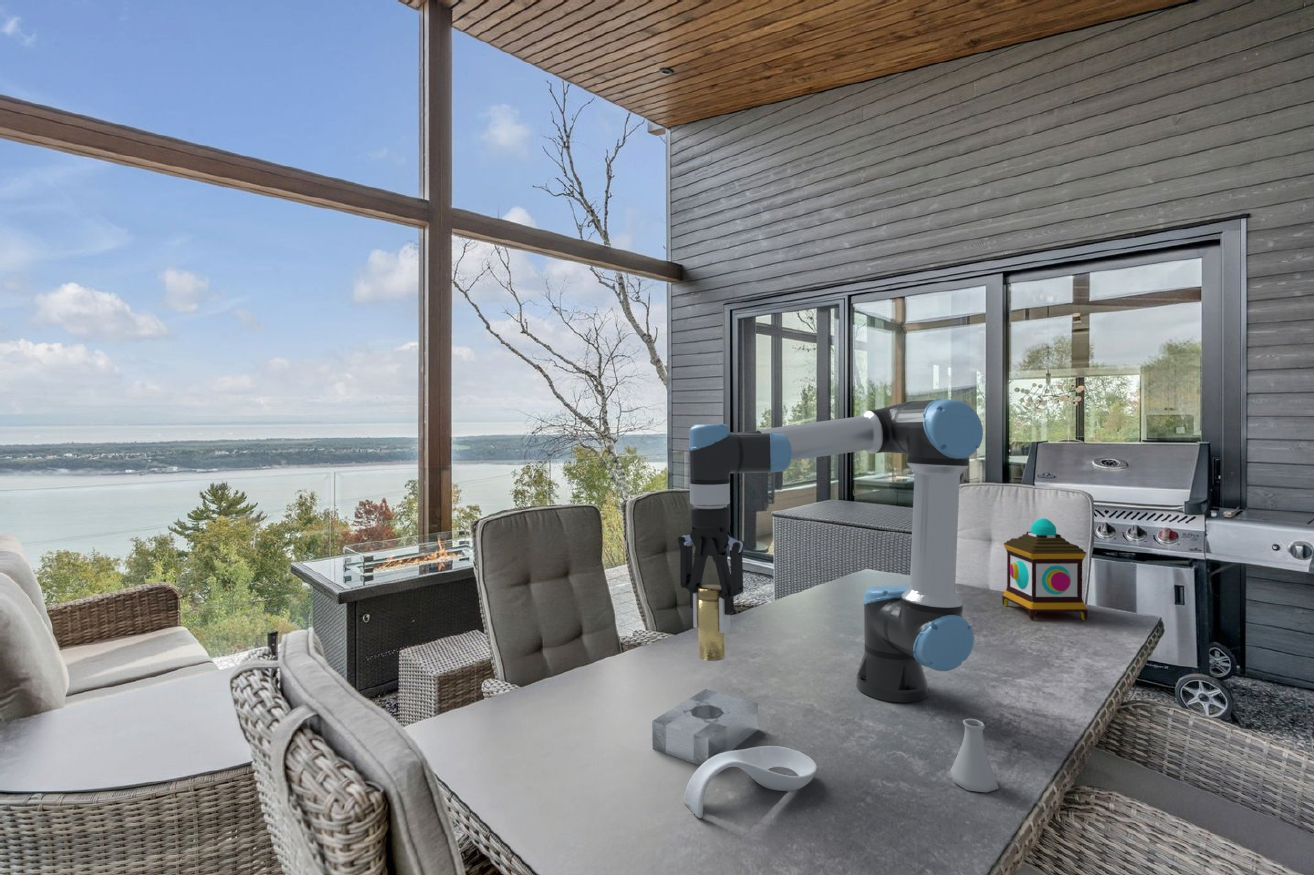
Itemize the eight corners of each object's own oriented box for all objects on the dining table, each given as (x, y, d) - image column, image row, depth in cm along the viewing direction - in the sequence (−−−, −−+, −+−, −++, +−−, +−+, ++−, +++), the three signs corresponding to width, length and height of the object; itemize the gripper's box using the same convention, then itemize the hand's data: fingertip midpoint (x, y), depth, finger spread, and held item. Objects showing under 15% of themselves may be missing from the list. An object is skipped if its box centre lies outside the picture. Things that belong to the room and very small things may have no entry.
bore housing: (758, 734, 127) (758, 703, 127) (708, 774, 113) (708, 739, 112) (705, 718, 134) (705, 688, 134) (652, 753, 120) (652, 720, 120)
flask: (941, 771, 113) (941, 714, 113) (982, 769, 114) (982, 712, 113) (964, 795, 106) (964, 733, 106) (1007, 793, 106) (1007, 731, 106)
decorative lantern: (1095, 622, 198) (1096, 522, 197) (1029, 622, 198) (1029, 523, 197) (1056, 604, 218) (1056, 513, 217) (995, 604, 218) (995, 514, 217)
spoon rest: (784, 759, 118) (784, 719, 118) (832, 790, 108) (832, 746, 108) (671, 796, 106) (671, 752, 106) (713, 835, 96) (713, 787, 96)
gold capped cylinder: (730, 654, 125) (729, 586, 125) (716, 662, 121) (715, 592, 121) (707, 649, 128) (706, 583, 128) (693, 657, 124) (692, 588, 124)
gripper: (762, 506, 122) (763, 631, 122) (681, 501, 132) (683, 616, 133) (742, 511, 116) (744, 642, 116) (659, 505, 126) (661, 625, 127)
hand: (711, 628), depth 124 cm, fingers closed on gold capped cylinder, 5 cm apart
